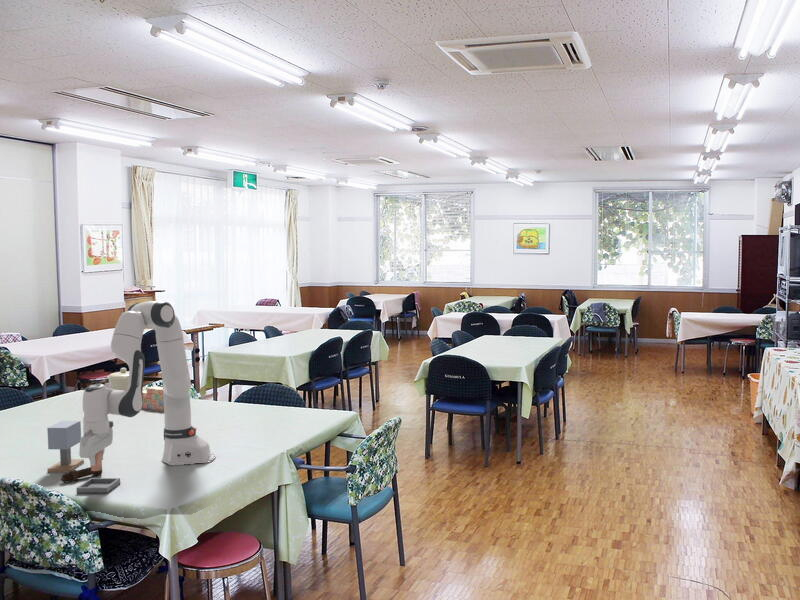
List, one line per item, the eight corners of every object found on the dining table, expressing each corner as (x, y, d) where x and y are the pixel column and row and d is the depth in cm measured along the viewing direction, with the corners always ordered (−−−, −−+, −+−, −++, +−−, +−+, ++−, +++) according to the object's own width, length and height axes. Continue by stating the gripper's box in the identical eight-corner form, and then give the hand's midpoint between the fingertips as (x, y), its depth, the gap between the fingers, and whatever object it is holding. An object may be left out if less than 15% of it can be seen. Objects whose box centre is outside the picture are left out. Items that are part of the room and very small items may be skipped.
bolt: (61, 487, 283) (99, 477, 294) (66, 483, 279) (103, 473, 290) (57, 473, 284) (95, 463, 295) (62, 469, 281) (99, 459, 292)
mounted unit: (83, 462, 308) (82, 420, 307) (69, 472, 296) (67, 428, 294) (62, 462, 309) (60, 420, 307) (46, 472, 296) (44, 428, 294)
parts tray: (120, 483, 281) (120, 478, 281) (107, 493, 269) (106, 488, 269) (91, 483, 281) (90, 478, 281) (76, 493, 270) (76, 488, 270)
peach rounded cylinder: (104, 468, 277) (103, 450, 276) (99, 471, 273) (98, 453, 272) (93, 467, 277) (93, 450, 276) (88, 471, 273) (88, 453, 272)
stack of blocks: (135, 407, 415) (134, 386, 414) (143, 405, 420) (142, 384, 419) (163, 411, 406) (162, 389, 405) (171, 408, 411) (170, 387, 410)
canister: (134, 398, 440) (133, 364, 439) (145, 402, 427) (144, 367, 425) (104, 402, 429) (102, 367, 427) (114, 407, 415) (112, 371, 413)
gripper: (91, 434, 263) (92, 471, 264) (115, 421, 283) (116, 455, 284) (74, 434, 263) (75, 471, 264) (99, 420, 284) (100, 455, 285)
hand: (96, 462), depth 275 cm, fingers closed on peach rounded cylinder, 4 cm apart
